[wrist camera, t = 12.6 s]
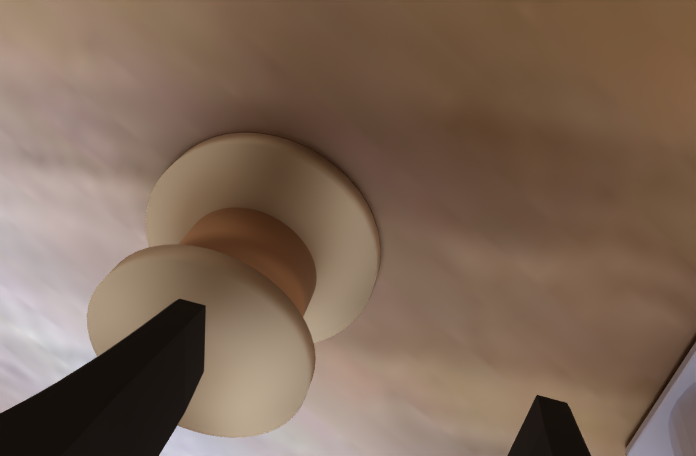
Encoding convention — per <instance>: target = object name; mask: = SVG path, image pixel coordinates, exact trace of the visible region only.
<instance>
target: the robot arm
mask: <svg viewBox="0 0 696 456" xmlns="http://www.w3.org/2000/svg"><path fill="white" fill-rule="evenodd" d="M205 320H206V305H202V304H198V303H195V302H191V301H187V300H183V299H178V300H176V301H174V302H173V303H172V304H170V305H169V306H168V307H166V308H165V309H164V310H162V311H161V312H160V313H158V314H157V315H155V316H154V317H153V318H151V319H150V320H149V321H147V322H146V323H145V324H143V325H142V326H141V327H139V328H138V329H136V330H135V331H134V332H132V333H131V334H130V335H128V336H127V337H125V338H124V339H122V340H121V341H120V342H118V343H117V344H115V345H114V346H112V347H111V348H109V349H108V350H107V351H105V352H104V353H102V354H101V355H99V356H98V357H96V358H95V359H93V360H92V361H90V362H89V363H87V364H85V365H84V366H82V367H81V368H79V369H77V370H76V371H74V372H73V373H71V374H70V375H68V376H66V377H65V378H63V379H62V380H60V381H58V382H57V383H55V384H53V385H52V386H50V387H48V388H46V389H45V390H43V391H41V392H39V393H38V394H36V395H34V396H32V397H30V398H29V399H27V400H25V401H23V402H21V403H19V404H17V405H15V406H14V407H12V408H10V409H8V410H6V411H4V412H2V413H0V456H159V454H160V453H161V451H162V450H163V448H164V446H165V445H166V443H167V441H168V440H169V438H170V436H171V435H172V433H173V432H174V430H175V428H176V427H177V425H178V423H179V422H180V420H181V418H182V417H183V415H184V413H185V412H186V409H187V407H188V405H189V403H190V401H191V399H192V397H193V395H194V393H195V390H196V388H197V386H198V384H199V381H200V379H201V377H202V375H203V373H204V359H205ZM625 452H626V456H696V342H695V344H694V345H693V347H692V348H691V350H690V351H689V353H688V354H687V356H686V357H685V359H684V360H683V362H682V363H681V365H680V366H679V368H678V370H677V371H676V373H675V374H674V376H673V377H672V379H671V380H670V382H669V383H668V385H667V386H666V388H665V389H664V391H663V392H662V394H661V396H660V397H659V399H658V400H657V402H656V403H655V405H654V406H653V408H652V409H651V411H650V412H649V414H648V415H647V417H646V418H645V420H644V422H643V423H642V425H641V426H640V428H639V429H638V431H637V432H636V434H635V435H634V437H633V438H632V440H631V441H630V443H629V444H628V446H627V448H626V450H625ZM508 456H591V455H590V452H589V450H588V448H587V446H586V444H585V441H584V439H583V437H582V435H581V432H580V430H579V428H578V426H577V423H576V421H575V419H574V416H573V414H572V412H571V409H570V407H569V406H568V404H567V403H565V402H561V401H558V400H554V399H550V398H547V397H543V396H539V395H537V396H536V398H535V400H534V402H533V404H532V406H531V408H530V410H529V412H528V414H527V416H526V419H525V421H524V423H523V425H522V427H521V429H520V431H519V433H518V435H517V437H516V439H515V441H514V443H513V445H512V447H511V450H510V452H509V454H508Z"/></svg>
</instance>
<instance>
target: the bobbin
mask: <svg viewBox="0 0 696 456" xmlns="http://www.w3.org/2000/svg"><path fill="white" fill-rule="evenodd" d="M146 233H147V240H148V244H149V248H146V249H143V250H140V251H137V252H135V253H133V254H131V255H129V256H128V257H126V258H125V259H124V260H122V261H121V262H120V263H119V264H118V265H117V266H116V267H115V268H114V269H113V270H112V271H111V272H110V273H109V274H108V275H107V276H106V278H105V279H104V280H103V281H102V282H101V283H100V284H99V285H98V286H97V288H96V290H95V291H94V293H93V295H92V297H91V300H90V303H89V306H88V313H87V327H88V332H89V337H90V340H91V343H92V346H93V349H94V351H95V353H96V355H97V357H98V356H99V355H101V354H102V353H104V352H105V351H107V350H108V349H109V348H111V347H112V346H114V345H115V344H117V343H118V342H120V341H121V340H122V339H124V338H125V337H127V336H128V335H130V334H131V333H132V332H134V331H135V330H136V329H138V328H139V327H141V326H142V325H143V324H145V323H146V322H147V321H149V320H150V319H151V318H153V317H154V316H155V315H157V314H158V313H160V312H161V311H162V310H164V309H165V308H166V307H168V306H169V305H170V304H172V303H173V302H174V301H176V300H178V299H183V300H187V301H191V302H195V303H198V304H202V305H206V320H205V359H204V373H203V375H202V377H201V379H200V381H199V384H198V386H197V388H196V390H195V393H194V395H193V397H192V399H191V401H190V403H189V405H188V407H187V409H186V412H185V413H184V415H183V417H182V418H181V420H180V422H179V423H178V426H180V427H183V428H186V429H189V430H192V431H195V432H199V433H203V434H207V435H213V436H220V437H249V436H256V435H260V434H264V433H267V432H270V431H272V430H274V429H277V428H279V427H280V426H282V425H283V424H285V423H287V422H288V421H289V420H290V419H291V418H292V417H293V416H294V415H295V414H296V413H297V411H298V410H299V409H300V407H301V405H302V403H303V401H304V399H305V397H306V394H307V391H308V389H309V386H310V383H311V380H312V377H313V373H314V370H315V348H314V343H315V342H319V341H321V340H324V339H327V338H330V337H332V336H333V335H335V334H337V333H339V332H341V331H342V330H344V329H345V328H346V327H348V326H349V325H350V324H351V323H352V322H353V321H354V320H355V319H356V318H358V316H359V315H360V314H361V312H362V311H363V309H364V308H365V306H366V304H367V302H368V301H369V299H370V296H371V293H372V290H373V287H374V284H375V280H376V277H377V273H378V270H379V264H380V240H379V234H378V229H377V226H376V223H375V220H374V217H373V215H372V213H371V210H370V208H369V206H368V204H367V202H366V201H365V199H364V198H363V196H362V195H361V193H360V192H359V190H358V189H357V188H356V187H355V185H354V184H353V183H352V182H351V181H350V179H349V178H348V177H347V176H346V175H345V174H344V173H343V172H342V171H340V170H339V169H338V168H337V167H336V166H335V165H334V164H332V163H331V162H330V161H328V160H327V159H325V158H324V157H323V156H321V155H319V154H318V153H316V152H314V151H313V150H311V149H309V148H307V147H305V146H303V145H300V144H298V143H296V142H293V141H291V140H287V139H284V138H281V137H277V136H273V135H267V134H261V133H232V134H225V135H221V136H217V137H213V138H211V139H208V140H206V141H203V142H201V143H199V144H197V145H196V146H194V147H192V148H191V149H189V150H188V151H187V152H186V153H184V154H183V155H182V156H181V157H180V158H179V159H177V160H176V161H175V162H174V163H173V164H172V165H171V166H170V167H169V168H168V169H167V170H166V171H165V172H164V174H163V175H162V176H161V177H160V178H159V180H158V181H157V183H156V185H155V187H154V188H153V190H152V193H151V196H150V198H149V201H148V206H147V211H146Z"/></svg>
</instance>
